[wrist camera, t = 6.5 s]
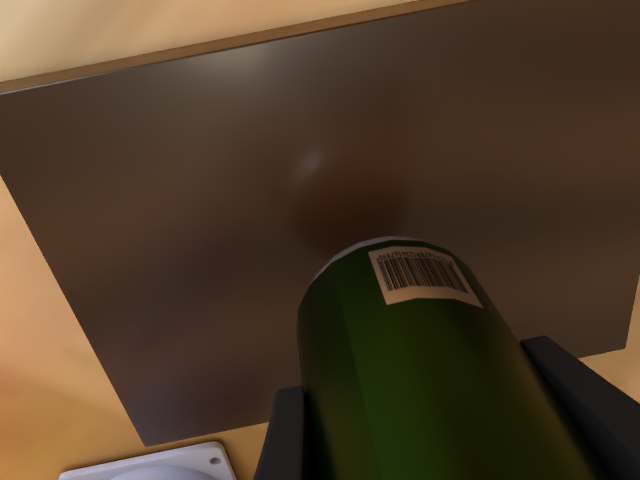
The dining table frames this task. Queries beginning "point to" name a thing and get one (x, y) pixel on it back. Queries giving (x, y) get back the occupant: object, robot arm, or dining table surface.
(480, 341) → the beer can
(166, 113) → the walnut board
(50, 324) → the dining table surface
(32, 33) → the dining table surface
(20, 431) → the dining table surface
